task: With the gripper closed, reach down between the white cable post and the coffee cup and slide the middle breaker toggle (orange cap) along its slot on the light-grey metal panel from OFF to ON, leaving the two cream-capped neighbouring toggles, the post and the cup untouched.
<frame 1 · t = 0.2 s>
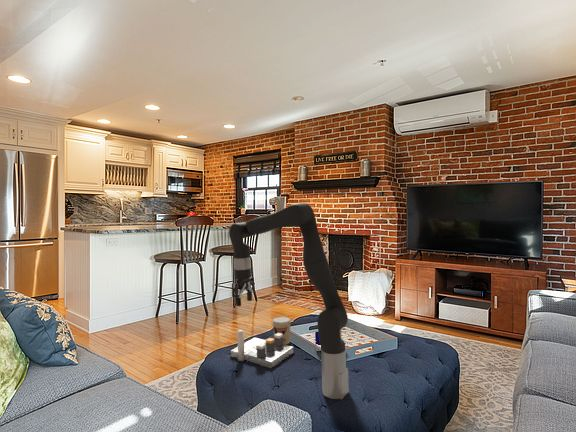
hand: (244, 303, 165), 29 cm above the table, fingers open, 8 cm apart
breaker panel: (262, 354, 178), on the table
toggle C: (261, 350, 169), point 6 cm above the table, slide at 0.0 cm
toggle B: (278, 339, 180), point 6 cm above the table, slide at 0.0 cm
coffee cup: (282, 342, 192), on the table
toggle A: (270, 344, 175), point 6 cm above the table, slide at 0.0 cm
puzzle cube: (328, 349, 181), on the table
cable post: (241, 360, 173), on the table
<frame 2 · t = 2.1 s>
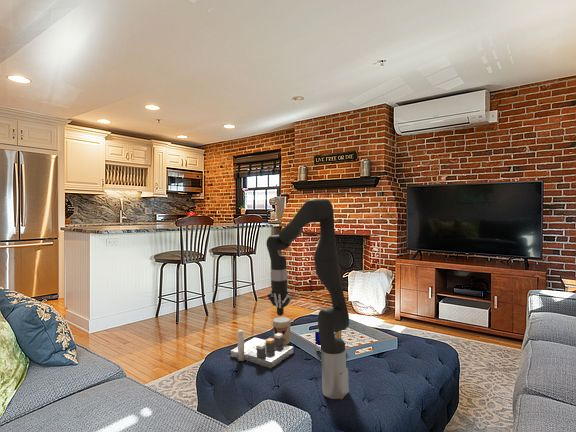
hand: (280, 315, 170), 21 cm above the table, fingers closed
nothing on the table moved.
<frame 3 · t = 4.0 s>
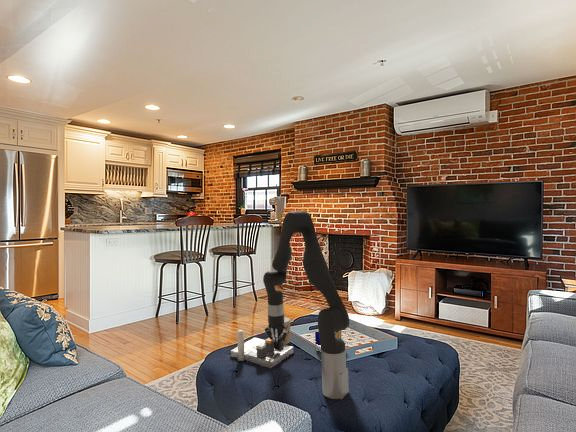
hand: (277, 349, 173), 5 cm above the table, fingers closed
toggle A: (269, 344, 175), point 6 cm above the table, slide at 0.3 cm, touching gripper
everything else where it was.
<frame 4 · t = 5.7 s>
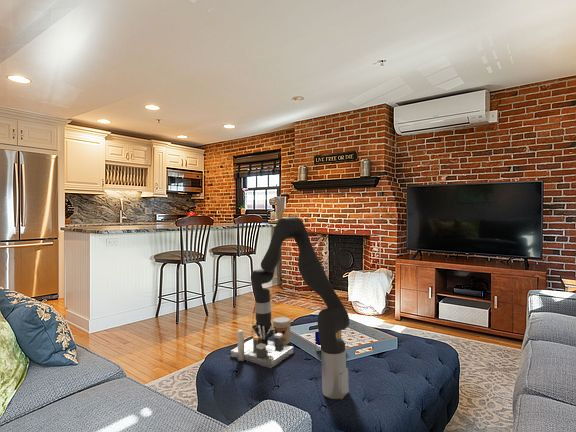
hand: (264, 345, 177), 5 cm above the table, fingers closed
toggle A: (257, 341, 179), point 6 cm above the table, slide at 7.7 cm, touching gripper
everything else where it was.
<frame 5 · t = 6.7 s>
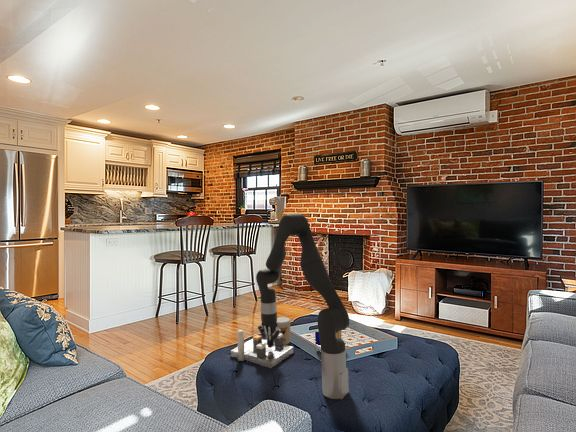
hand: (270, 347, 175), 5 cm above the table, fingers closed
toggle A: (257, 341, 179), point 6 cm above the table, slide at 7.7 cm
everything else where it was.
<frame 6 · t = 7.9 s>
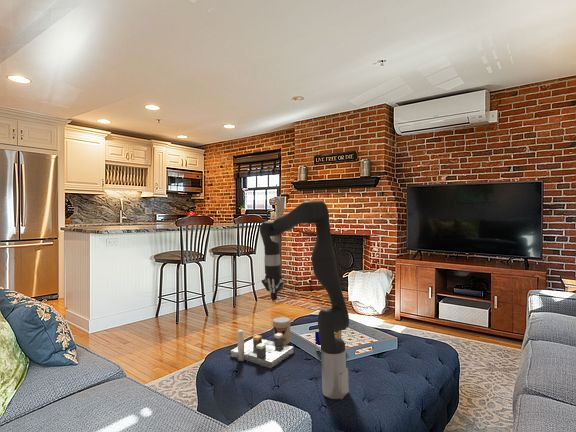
hand: (274, 300, 174), 27 cm above the table, fingers closed
nothing on the table moved.
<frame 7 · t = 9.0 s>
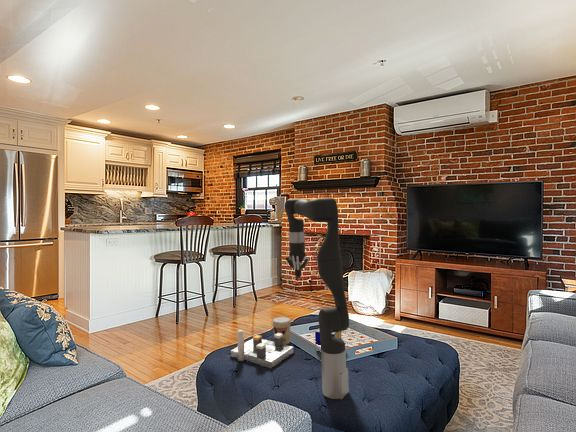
hand: (298, 277, 176), 37 cm above the table, fingers closed
nothing on the table moved.
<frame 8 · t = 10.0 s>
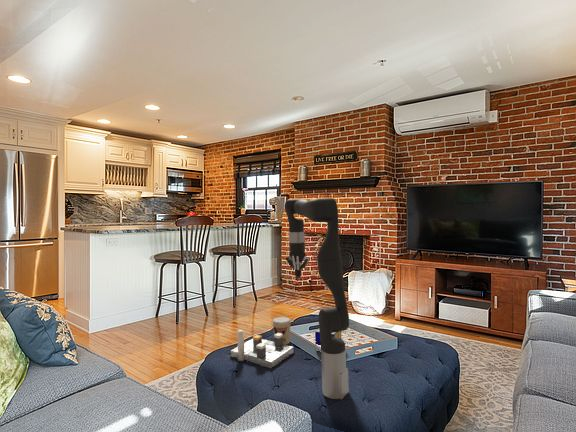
hand: (298, 277, 176), 37 cm above the table, fingers closed
nothing on the table moved.
at the end: toggle A slide at 7.7 cm; toggle B slide at 0.0 cm; toggle C slide at 0.0 cm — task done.
